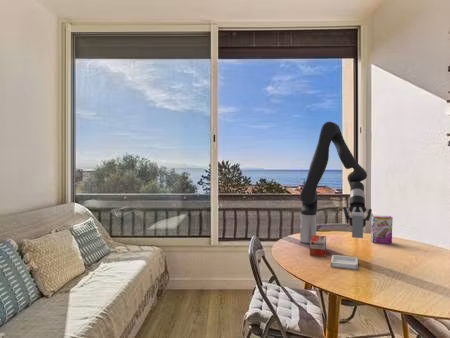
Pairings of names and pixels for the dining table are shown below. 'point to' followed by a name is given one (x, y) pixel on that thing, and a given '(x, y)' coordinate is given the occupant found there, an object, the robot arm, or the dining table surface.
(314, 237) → the medicine box
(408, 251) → the dining table surface
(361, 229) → the tall grey carton
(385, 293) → the dining table surface
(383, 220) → the candy bar box
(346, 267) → the tray
